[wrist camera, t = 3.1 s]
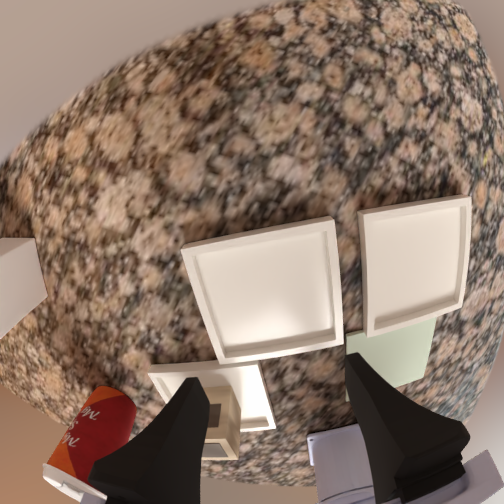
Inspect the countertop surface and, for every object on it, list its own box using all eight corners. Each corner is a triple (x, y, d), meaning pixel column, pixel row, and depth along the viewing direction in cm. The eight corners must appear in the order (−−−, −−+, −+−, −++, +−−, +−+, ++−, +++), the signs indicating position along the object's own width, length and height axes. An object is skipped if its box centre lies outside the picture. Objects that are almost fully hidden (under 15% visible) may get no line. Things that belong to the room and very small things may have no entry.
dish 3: (455, 301, 20) (461, 307, 19) (362, 329, 21) (367, 338, 20) (462, 194, 17) (471, 196, 16) (356, 210, 18) (363, 214, 16)
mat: (421, 375, 23) (422, 377, 23) (345, 398, 24) (346, 401, 24) (435, 308, 20) (437, 310, 20) (345, 333, 21) (346, 336, 21)
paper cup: (90, 368, 24) (32, 465, 10) (152, 401, 25) (115, 510, 12) (85, 400, 26) (42, 481, 13) (138, 428, 27) (108, 515, 14)
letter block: (241, 410, 24) (238, 460, 18) (203, 412, 24) (194, 460, 19) (231, 385, 23) (225, 439, 17) (190, 387, 23) (177, 438, 17)
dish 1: (339, 335, 21) (343, 343, 20) (221, 355, 22) (219, 364, 21) (329, 215, 18) (334, 219, 17) (184, 243, 19) (180, 249, 18)
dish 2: (275, 419, 25) (276, 428, 24) (187, 425, 26) (186, 432, 25) (257, 355, 22) (257, 364, 21) (151, 364, 23) (147, 373, 22)
